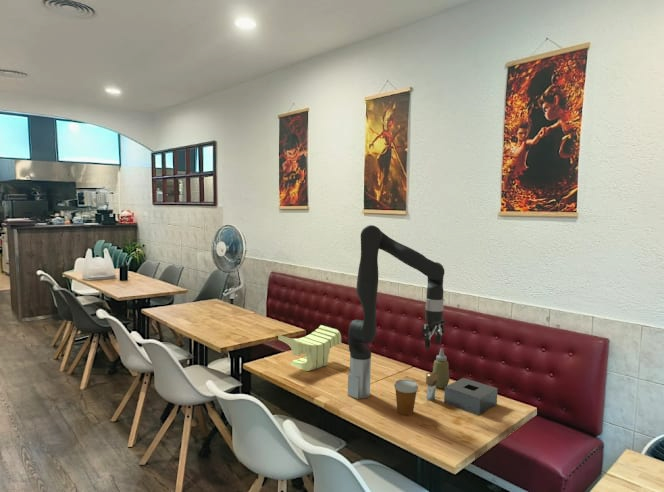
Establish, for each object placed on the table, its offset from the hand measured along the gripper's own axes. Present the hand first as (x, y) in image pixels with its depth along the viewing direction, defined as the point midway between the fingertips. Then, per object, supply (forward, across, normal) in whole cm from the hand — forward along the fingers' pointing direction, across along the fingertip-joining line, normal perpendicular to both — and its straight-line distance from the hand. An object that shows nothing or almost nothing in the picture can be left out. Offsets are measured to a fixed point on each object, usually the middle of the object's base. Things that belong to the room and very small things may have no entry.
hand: (432, 345), depth 189 cm
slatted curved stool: (+24, -12, +66) cm, 71 cm away
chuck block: (+24, +9, -14) cm, 29 cm away
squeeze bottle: (+24, +16, +5) cm, 29 cm away
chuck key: (+24, 0, 0) cm, 24 cm away
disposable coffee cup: (+24, -19, 0) cm, 31 cm away
